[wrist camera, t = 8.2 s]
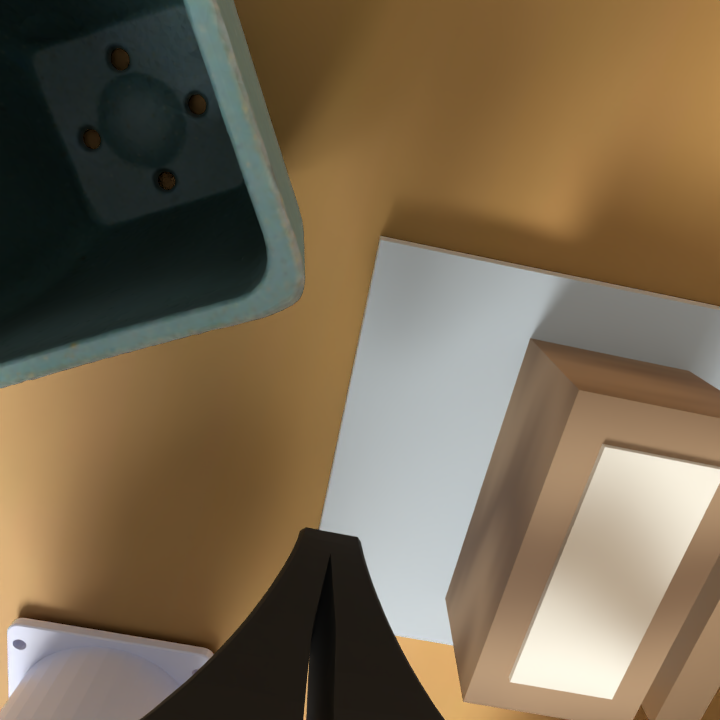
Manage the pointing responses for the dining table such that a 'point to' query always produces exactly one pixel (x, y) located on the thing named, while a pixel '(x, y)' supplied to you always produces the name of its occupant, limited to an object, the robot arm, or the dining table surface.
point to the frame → (587, 535)
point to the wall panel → (486, 424)
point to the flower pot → (134, 182)
